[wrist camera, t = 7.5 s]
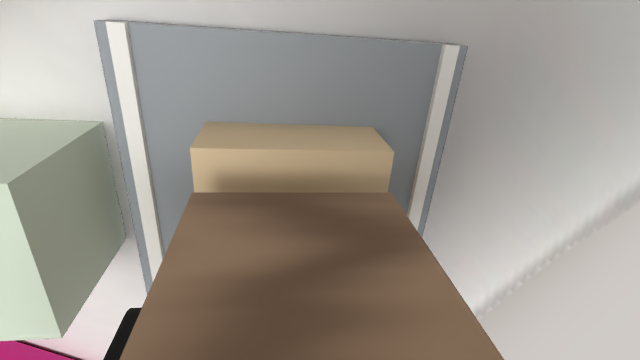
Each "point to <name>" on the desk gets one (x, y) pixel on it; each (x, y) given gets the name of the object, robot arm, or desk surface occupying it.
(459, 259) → the desk surface
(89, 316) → the desk surface
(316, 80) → the board
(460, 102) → the desk surface
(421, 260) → the walnut cube
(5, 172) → the sage cube
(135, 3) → the desk surface
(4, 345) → the file sorter
